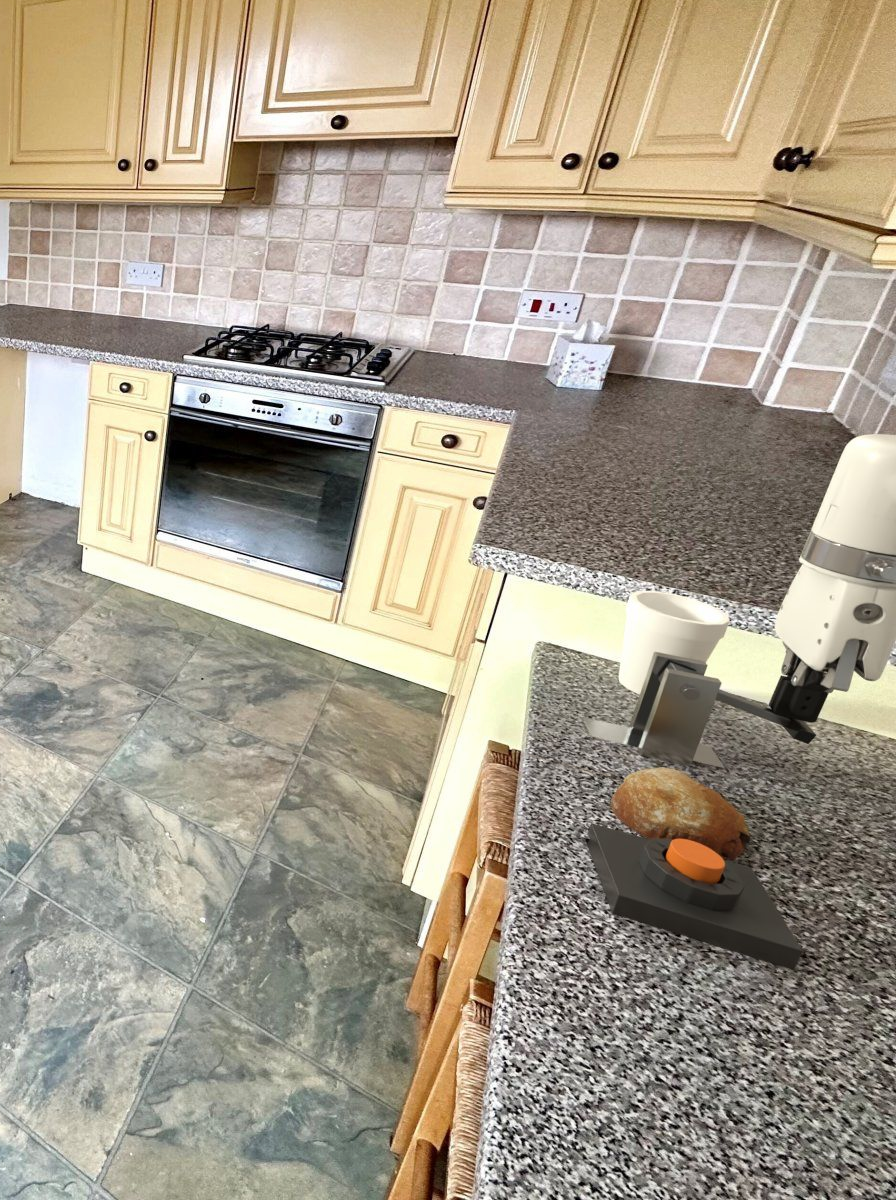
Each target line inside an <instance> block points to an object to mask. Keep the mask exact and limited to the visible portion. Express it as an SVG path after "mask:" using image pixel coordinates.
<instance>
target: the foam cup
mask: <svg viewBox="0 0 896 1200" xmlns="http://www.w3.org/2000/svg"><path fill="white" fill-rule="evenodd" d="M625 614H626V616H625V617H626V618H625V625H624V633H623V640H622V648H621V655H620V663H619V671H618V681H619V684H620V685H622V686H623V687H624V688H625V689H627V690H629V691H631V692H633V693H635V694H637V695H640V692H641V690H642V687H643V684H644V681H645V678H646V675H647V672H648V669H649V666H650V663H651V660H652V657H653V654H654V652H659V653H664V654H669V655H674V656H679V657H685V658H690V659H695V660H700V661H705V663H706V664H707V662H708V660H709V658H710V656H711V655H712V654H713V652H714V650H715V648H716V647H717V645H718V643H719V641H720V640H722V639H723V638H724V637H725V635H726V633H727V629H728V627H729V624H730V621H731V620H730V618H729V617H728V614H727V613H725V612H724V611H722V610H721V609H718V608H717V607H716V606H713V605H711V604H708V603H705V602H703V601H701V600H698V599H695V598H691V597H688V596H684V595H680V594H676V593H670V592H663V591H658V590H637V591H634V592H632V593H629V597H628V600H627V603H626V607H625Z"/></svg>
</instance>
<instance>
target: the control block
mask: <svg viewBox="0 0 896 1200" xmlns="http://www.w3.org/2000/svg"><path fill="white" fill-rule="evenodd" d="M587 835H588V838H587V837H586V838H585V840H584V841H585V844H586V846H587V849H588V853H589V854H590V857H591V860H592V863H593V865H594V868H595V871H596V874H597V876H598V880H599V882H600V884H601V887H602V890H603V893H604V895H605V898H606V901H607V903H608V906H609V909H610V911H611V914H613V915H616V916H619V917H622V918H626V919H629V920H632V921H636V922H638V923H641V924H644V925H648V926H651V927H654V928H658V929H661V930H664V931H666V932H670V933H674V934H677V935H680V936H683V937H686V938H689V939H692V940H695V941H699V942H702V943H705V944H708V945H712V946H715V947H718V948H721V949H724V950H727V951H730V952H734V953H737V954H740V955H743V956H746V957H749V958H753V959H756V960H759V961H762V962H766V963H768V964H771V965H775V966H779V967H782V968H785V969H787V970H791V971H795V969H796V967H797V965H798V963H799V961H800V958H801V956H802V954H803V952H804V951H803V948H802V947H801V945H800V944H799V942H798V940H797V939H796V937H795V935H794V934H793V932H792V931H791V929H790V927H789V926H788V924H787V923H786V921H785V920H784V918H783V916H782V914H781V913H780V911H779V910H778V908H777V906H776V905H775V904H774V902H773V900H772V898H771V896H770V895H769V894H768V892H767V889H765V887H764V885H763V883H762V882H761V880H760V879H759V877H758V876H757V874H756V872H755V871H754V869H753V868H752V867H751V866H747V865H744V864H740V863H736V862H733V861H729V860H727V859H724V862H725V868H724V870H723V872H722V875H721V877H720V880H719V882H717V883H715V884H709V883H705V882H702V881H698V880H695V879H692V878H690V877H688V876H686V875H684V874H682V873H680V872H678V871H677V870H675V869H674V868H673V867H672V866H671V865H669V864H668V863H667V861H666V858H665V857H666V854H667V851H668V849H669V846H670V843H671V841H672V839H668V838H665V839H649V838H646V837H644V836H639V835H636V834H631V833H628V832H624V831H621V830H617V829H614V828H610V827H607V826H603V825H599V824H595V823H593V822H592V823H590V825H589V828H588V831H587Z"/></svg>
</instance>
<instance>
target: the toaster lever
mask: <svg viewBox="0 0 896 1200" xmlns="http://www.w3.org/2000/svg"><path fill="white" fill-rule="evenodd" d="M666 668H667V669H672V670H677V671H682V672H687V673H692V674H697V675H700V673H697V672H695V671H692V670H689V669H687V668H684V667H682V666H679V665H676V664H674V663H671V662H670V663H669V665H668V666H667V667H666ZM665 670H666V669H665ZM665 670H664V671H663V673H662V674H661V675H660V677H659V678H658V679H659V681H660V682H661V681H662V678H663V675H664V672H665ZM715 701H718V702H720V703H723V704H726V705H727V706H730V707H733V708H736V709H737V710H741V711H743V712H746V713H748V714H751V715H753V716H756V717H759V718H761V719H763V720H766V721H767V722H768V721H769V722H771V723H774V724H776V725H779V726H781V727H782V728H783V729H784V730H785V731H786V732H787V733H788V735H789V736H790V737H791V738H792V739H793V740H796V741H799V742H801V743H803V744H806V745H809V744H810V743H811V742H812V741H813V740H814V739H815V738H816V737H817V734H816V732H814V730H813V729H812V728H811V727H810V726H809V725H808V723H807V722H805V721H801V720H796V719H791V718H787V717H782V716H778V715H776V714H775V712H774V711H773V710H772V709H771V708H770V707H767V706H764V705H761V704H759V703H757V702H754V701H751V700H749V699H746V698H743V697H741V696H738V695H736V694H733V693H731V692H728V691H725V690H724V689H721V688H720V689H719V692H718V694H717V697H716V700H715Z"/></svg>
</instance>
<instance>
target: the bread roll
mask: <svg viewBox="0 0 896 1200" xmlns="http://www.w3.org/2000/svg"><path fill="white" fill-rule="evenodd" d="M610 800H611V801H610V808H611V810H612V812H613V814H614V816H615V817H616V818H618V820H619V821H620V822H622V823H623V824H624V825H625V826H627V827H628V828H630V830H633V831H634V832H636V833H637V834H639V835H641V836H642V837H643V838H646V839H665V838H668V839H672V840H674V839H687V840H691V841H694V842H697V843H700V844H702V845H704V846H706V847H708V848H710V849H711V850H713V851H714V852H716V853H717V854H718V855H719V856H721V858H722V859H723V860H735V859H737V858H738V857H739V856H740V855H741V854H742V853H743V852H744V850H745V847H746V846H747V845H748V844H749V843H750V842H751V841H752V838H751V836H750V832H749V828H748V826H747V822H746V820H745V819H746V817H745V815H743V814H741V812H739V811H738V809H736V807H735V806H733V805H732V804H731V803H730V801H727V800H725V799H724V798H723V797H722V795H721V794H719V792H717V791H716V790H713V789H711V788H708V787H706V786H705V785H704V784H702V783H701V782H698V781H696V780H695V779H694V778H692V777H690V776H689V775H687V774H686V773H685V772H684V771H681V770H678V769H676V768H671V767H663V766H662V767H660V766H659V767H651V768H644V769H639V770H637V771H635V772H633V773H628V774H627V776H626V777H625V778H624V779H623V782H622V784H620V785H619V786H618V788H617V789H616V791H615V792H614V794H613V796H612V797H611V799H610Z"/></svg>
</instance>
